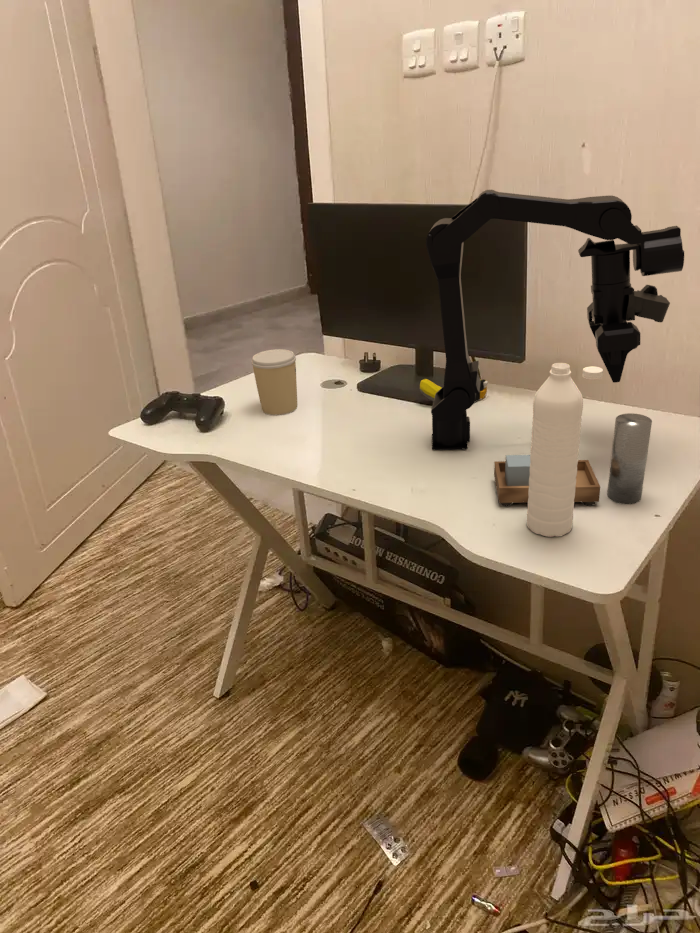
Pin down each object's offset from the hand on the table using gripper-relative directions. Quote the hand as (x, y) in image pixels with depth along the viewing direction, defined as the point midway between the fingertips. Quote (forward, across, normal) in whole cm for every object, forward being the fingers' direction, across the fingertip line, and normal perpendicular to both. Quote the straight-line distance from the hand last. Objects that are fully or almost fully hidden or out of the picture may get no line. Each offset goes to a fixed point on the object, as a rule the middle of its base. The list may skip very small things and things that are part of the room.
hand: (612, 372), depth 117 cm
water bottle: (+13, -28, +11) cm, 33 cm away
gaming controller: (+11, +22, +29) cm, 38 cm away
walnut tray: (+13, -17, +13) cm, 25 cm away
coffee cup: (+6, +15, +67) cm, 69 cm away
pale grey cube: (+10, -18, +16) cm, 26 cm away
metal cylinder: (+14, -18, +1) cm, 23 cm away
